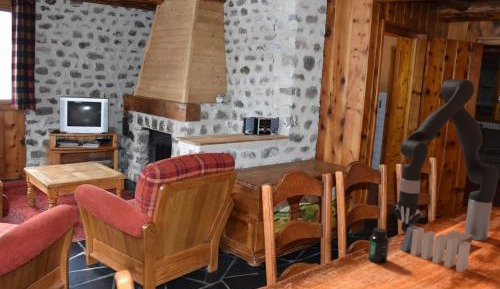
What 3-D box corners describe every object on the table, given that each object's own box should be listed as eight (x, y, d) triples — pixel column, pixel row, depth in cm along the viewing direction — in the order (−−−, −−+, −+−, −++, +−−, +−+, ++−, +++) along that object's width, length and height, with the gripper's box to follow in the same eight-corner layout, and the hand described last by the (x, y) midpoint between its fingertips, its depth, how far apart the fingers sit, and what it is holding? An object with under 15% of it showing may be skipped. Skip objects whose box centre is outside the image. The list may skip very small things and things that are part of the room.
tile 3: (427, 254, 178) (430, 230, 177) (432, 256, 177) (435, 232, 175) (421, 257, 175) (424, 233, 174) (426, 259, 174) (428, 234, 172)
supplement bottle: (371, 263, 167) (374, 233, 165) (365, 256, 174) (368, 226, 172) (389, 264, 168) (392, 233, 166) (382, 256, 175) (385, 227, 173)
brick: (455, 254, 181) (457, 243, 181) (435, 247, 187) (436, 237, 187) (471, 245, 193) (473, 234, 192) (452, 239, 199) (453, 229, 198)
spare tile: (406, 246, 185) (413, 225, 182) (411, 249, 184) (418, 227, 181) (400, 249, 182) (407, 227, 179) (404, 252, 180) (411, 230, 177)
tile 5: (449, 262, 172) (453, 237, 170) (455, 264, 170) (458, 239, 169) (443, 266, 169) (447, 240, 167) (449, 267, 167) (452, 242, 166)
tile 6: (461, 266, 169) (465, 241, 167) (467, 268, 167) (470, 243, 166) (455, 270, 165) (459, 244, 164) (461, 272, 164) (464, 246, 162)
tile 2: (416, 251, 182) (419, 227, 180) (421, 252, 180) (424, 229, 179) (410, 254, 178) (413, 230, 177) (415, 255, 177) (417, 231, 175)
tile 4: (438, 258, 175) (441, 234, 174) (443, 260, 174) (446, 235, 172) (432, 261, 172) (435, 236, 170) (437, 263, 170) (440, 238, 169)
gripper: (389, 187, 182) (385, 228, 185) (420, 195, 172) (415, 238, 175) (399, 185, 187) (395, 225, 190) (430, 192, 177) (425, 234, 180)
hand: (405, 231), depth 182 cm, fingers closed
